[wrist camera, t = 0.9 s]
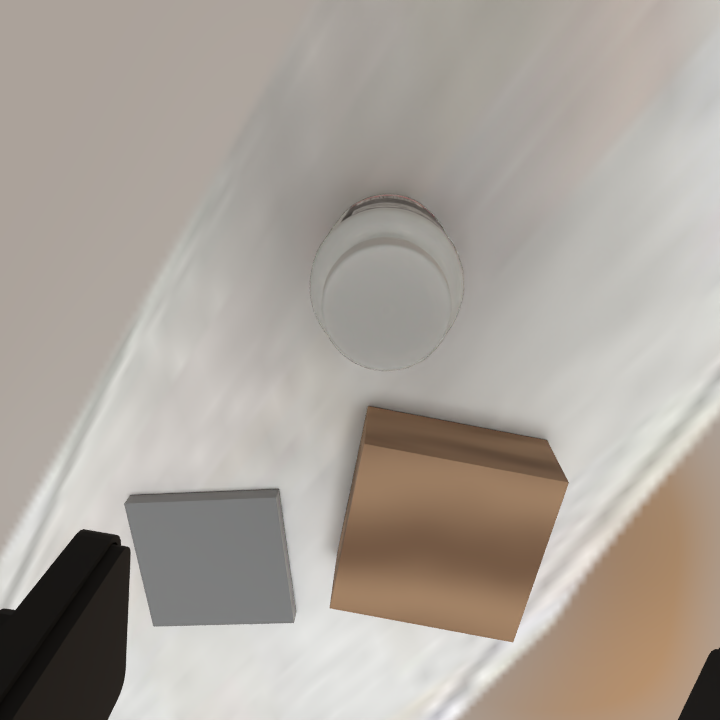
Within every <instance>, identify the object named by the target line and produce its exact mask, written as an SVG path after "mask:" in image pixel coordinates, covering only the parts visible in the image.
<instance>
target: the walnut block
mask: <svg viewBox="0 0 720 720" xmlns="http://www.w3.org/2000/svg"><path fill="white" fill-rule="evenodd" d="M568 483H569V482H568V480H567V478H566V476H565V474H564V472H563V471H562V469H561V467H560V465H559V463H558V461H557V459H556V457H555V455H554V453H553V451H552V449H551V447H550V445H549V443H548V441H547V440H543V439H538V438H533V437H528V436H522V435H517V434H512V433H507V432H501V431H496V430H491V429H486V428H481V427H475V426H470V425H465V424H460V423H454V422H449V421H444V420H439V419H433V418H428V417H423V416H418V415H412V414H407V413H402V412H397V411H391V410H386V409H381V408H376V407H371V406H368V408H367V413H366V417H365V422H364V427H363V432H362V437H361V441H360V446H359V451H358V456H357V461H356V466H355V470H354V475H353V480H352V485H351V490H350V494H349V499H348V504H347V509H346V514H345V519H344V523H343V528H342V533H341V538H340V543H339V548H338V552H337V558H336V565H335V573H334V580H333V587H332V595H331V602H330V608H332V609H337V610H342V611H348V612H353V613H358V614H364V615H369V616H375V617H380V618H385V619H391V620H396V621H401V622H407V623H412V624H418V625H423V626H428V627H434V628H439V629H444V630H450V631H455V632H461V633H466V634H471V635H477V636H482V637H487V638H493V639H498V640H504V641H509V642H513V641H514V638H515V636H516V633H517V630H518V627H519V624H520V621H521V618H522V615H523V613H524V610H525V607H526V604H527V601H528V598H529V595H530V592H531V590H532V587H533V584H534V581H535V578H536V575H537V572H538V569H539V567H540V564H541V561H542V558H543V555H544V552H545V549H546V546H547V544H548V541H549V538H550V535H551V532H552V529H553V526H554V523H555V521H556V518H557V515H558V512H559V509H560V506H561V503H562V501H563V498H564V495H565V492H566V489H567V486H568Z"/></svg>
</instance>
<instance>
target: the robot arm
mask: <svg viewBox="0 0 720 720" xmlns="http://www.w3.org/2000/svg"><path fill="white" fill-rule="evenodd" d="M129 578H130V548H129V547H126V546H121V540H120V537H119V536H118V535H114V534H108V533H102V532H96V531H91V530H85V529H83V530H80V531H79V532H78V533H77V534H76V535H75V536H74V538H73V539H72V540H71V541H70V543H69V544H68V545H67V546H66V548H65V549H64V550H63V551H62V553H61V554H60V555H59V556H58V558H57V559H56V560H55V561H54V563H53V564H52V565H51V566H50V568H49V569H48V570H47V571H46V573H45V574H44V575H43V576H42V578H41V579H40V580H39V581H38V583H37V584H36V585H35V586H34V588H33V589H32V590H31V591H30V593H29V594H28V595H27V596H26V598H25V599H24V600H23V601H22V603H21V604H20V605H19V606H18V608H17V609H16V610H11V609H1V610H0V720H108V718H109V716H110V714H111V712H112V710H113V708H114V706H115V704H116V702H117V700H118V697H119V695H120V692H121V690H122V686H123V683H124V678H125V670H126V647H127V624H128V601H129ZM678 720H720V648H719V649H715V650H713V651H711V653H710V654H709V656H708V658H707V660H706V662H705V664H704V666H703V668H702V671H701V673H700V675H699V677H698V679H697V681H696V683H695V685H694V687H693V689H692V691H691V693H690V695H689V698H688V700H687V702H686V704H685V706H684V708H683V710H682V712H681V715H680V717H679V719H678Z"/></svg>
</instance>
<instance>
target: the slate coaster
mask: <svg viewBox="0 0 720 720" xmlns="http://www.w3.org/2000/svg"><path fill="white" fill-rule="evenodd" d="M124 505H125V509H126V513H127V518H128V522H129V526H130V530H131V534H132V539H133V543H134V547H135V551H136V555H137V559H138V564H139V568H140V572H141V576H142V580H143V585H144V589H145V593H146V597H147V601H148V606H149V610H150V614H151V618H152V622H153V626H190V625H229V624H269V623H294V620H295V615H296V608H295V601H294V594H293V587H292V580H291V573H290V565H289V558H288V551H287V544H286V537H285V530H284V523H283V516H282V508H281V501H280V494H279V489H270V490H246V491H223V492H199V493H175V494H151V495H130V497H129V498H128V499H127V501H126V502H125V503H124Z"/></svg>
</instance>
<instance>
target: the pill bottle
mask: <svg viewBox="0 0 720 720" xmlns="http://www.w3.org/2000/svg"><path fill="white" fill-rule="evenodd" d="M463 291H464V278H463V269H462V265H461V262H460V259H459V256H458V254H457V252H456V249H455V247H454V245H453V243H452V242H451V241H450V239H449V238H448V236H447V235H446V233H445V232H444V230H443V228H442V226H441V225H440V223H439V222H438V220H437V219H436V218H435V216H434V215H433V214H432V213H431V212H430V211H429V210H428V209H427V208H425V207H424V206H423V205H421V204H420V203H418V202H417V201H415V200H412V199H410V198H408V197H404V196H400V195H395V194H384V195H377V196H372V197H369V198H366V199H363V200H361V201H360V202H358V203H356V204H354V205H353V206H352V207H350V208H349V209H348V210H347V211H346V212H345V213H344V214H343V215H342V216H341V218H340V219H339V220H338V221H337V223H336V224H335V225H334V226H333V228H332V229H331V231H330V233H329V234H328V236H327V237H326V238H325V239H324V241H323V243H322V244H321V246H320V247H319V249H318V251H317V254H316V256H315V259H314V262H313V265H312V270H311V276H310V296H311V302H312V306H313V309H314V312H315V315H316V317H317V319H318V322H319V323H320V325H321V327H322V328H323V329H324V331H325V332H326V333H327V335H328V336H329V338H330V340H331V341H332V343H333V344H334V346H335V347H336V348H337V349H338V350H339V351H340V353H342V354H343V355H344V356H345V357H347V358H348V359H349V360H351V361H352V362H354V363H356V364H358V365H360V366H363V367H365V368H369V369H373V370H380V371H393V370H400V369H404V368H408V367H410V366H413V365H415V364H417V363H419V362H420V361H422V360H424V359H425V358H427V357H428V356H429V355H430V354H431V353H432V352H433V351H434V350H435V349H436V348H437V347H438V346H439V344H440V343H441V341H442V340H443V338H444V337H445V334H446V333H447V332H448V330H449V329H450V328H451V326H452V324H453V323H454V321H455V319H456V317H457V314H458V312H459V309H460V306H461V303H462V298H463Z"/></svg>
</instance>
